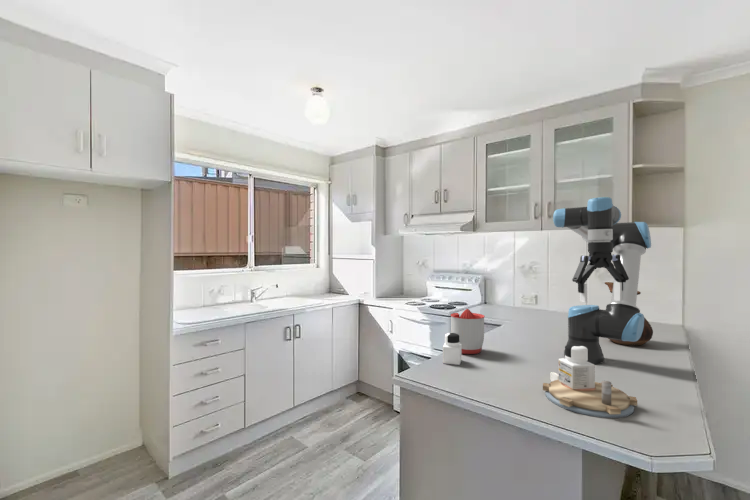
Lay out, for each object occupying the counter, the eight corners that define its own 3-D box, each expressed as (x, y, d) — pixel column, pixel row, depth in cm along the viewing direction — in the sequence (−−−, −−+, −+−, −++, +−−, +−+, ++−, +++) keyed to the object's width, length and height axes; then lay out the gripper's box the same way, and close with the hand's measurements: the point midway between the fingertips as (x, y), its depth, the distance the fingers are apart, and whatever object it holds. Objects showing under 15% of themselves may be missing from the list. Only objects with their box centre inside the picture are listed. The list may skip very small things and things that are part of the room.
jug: (650, 340, 187) (650, 283, 187) (655, 350, 169) (655, 286, 169) (600, 335, 199) (600, 281, 199) (600, 344, 180) (600, 284, 180)
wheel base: (521, 382, 129) (521, 374, 129) (582, 378, 133) (582, 370, 133) (580, 420, 100) (580, 409, 100) (655, 414, 104) (655, 404, 104)
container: (558, 380, 122) (557, 342, 122) (579, 379, 123) (579, 341, 123) (573, 389, 114) (572, 348, 114) (595, 388, 115) (595, 348, 115)
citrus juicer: (477, 345, 179) (477, 305, 179) (489, 356, 161) (489, 311, 161) (446, 346, 178) (446, 305, 178) (455, 356, 161) (454, 311, 161)
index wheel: (656, 413, 101) (656, 386, 101) (574, 415, 101) (574, 387, 101) (597, 380, 127) (597, 359, 127) (531, 381, 126) (531, 359, 126)
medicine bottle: (461, 360, 155) (461, 332, 155) (459, 365, 148) (459, 336, 148) (444, 358, 157) (444, 331, 157) (442, 363, 151) (442, 334, 151)
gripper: (575, 242, 122) (576, 304, 122) (640, 240, 125) (641, 301, 126) (560, 242, 129) (561, 301, 130) (622, 240, 133) (623, 298, 133)
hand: (600, 301), depth 128 cm, fingers open, 13 cm apart
